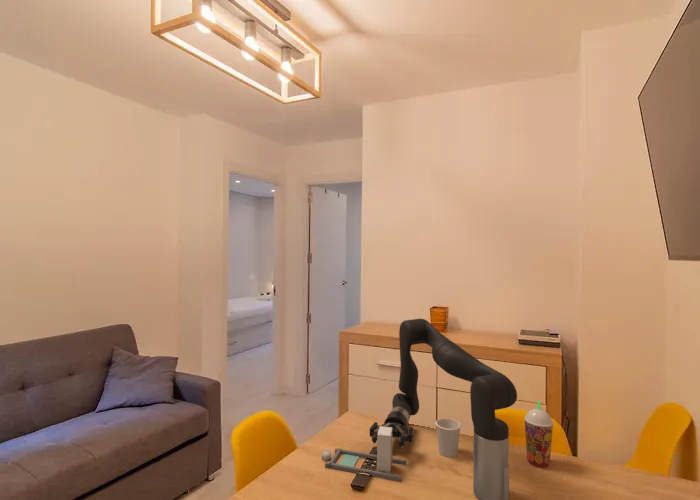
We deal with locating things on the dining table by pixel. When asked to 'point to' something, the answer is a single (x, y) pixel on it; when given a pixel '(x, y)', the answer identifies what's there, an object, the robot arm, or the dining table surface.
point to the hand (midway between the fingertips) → (387, 442)
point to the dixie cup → (448, 436)
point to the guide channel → (350, 461)
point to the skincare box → (384, 449)
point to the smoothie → (538, 436)
